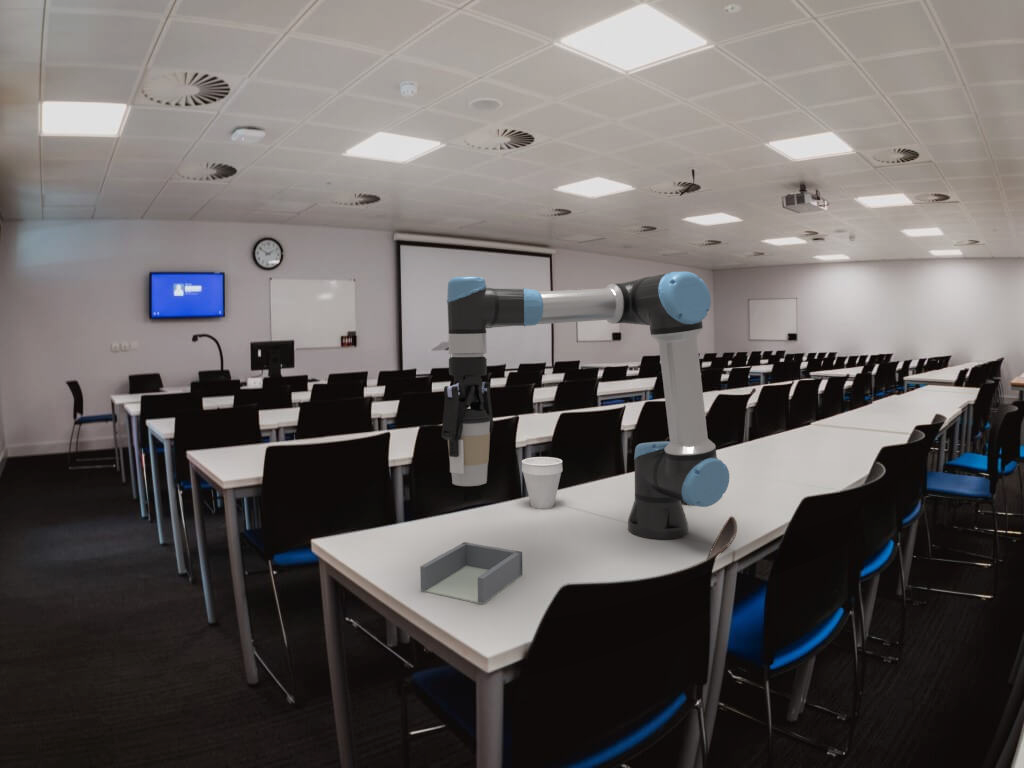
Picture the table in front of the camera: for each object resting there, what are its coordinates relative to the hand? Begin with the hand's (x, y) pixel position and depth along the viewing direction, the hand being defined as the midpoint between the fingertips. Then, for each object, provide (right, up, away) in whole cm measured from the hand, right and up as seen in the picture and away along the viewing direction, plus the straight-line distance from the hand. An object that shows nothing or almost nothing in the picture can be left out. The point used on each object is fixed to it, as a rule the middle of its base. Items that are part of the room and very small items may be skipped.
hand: (469, 468), depth 122 cm
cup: (+18, -20, +60) cm, 66 cm away
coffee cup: (0, -3, 0) cm, 3 cm away
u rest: (0, -24, +2) cm, 24 cm away
